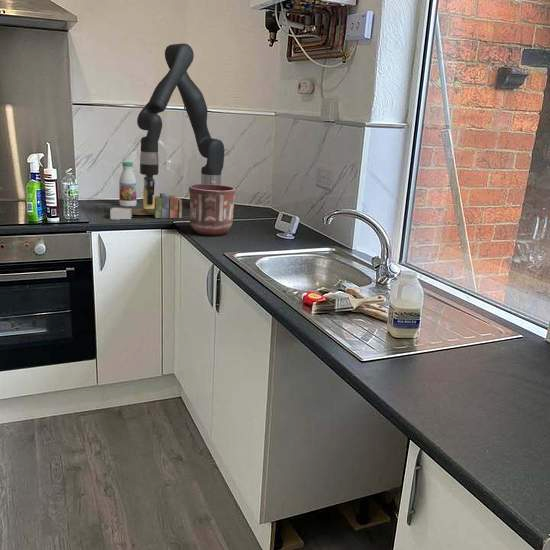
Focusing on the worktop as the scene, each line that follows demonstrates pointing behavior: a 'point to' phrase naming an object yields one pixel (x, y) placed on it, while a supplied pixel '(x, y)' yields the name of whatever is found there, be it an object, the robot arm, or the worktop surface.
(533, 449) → the worktop surface
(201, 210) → the pottery
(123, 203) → the milk bottle
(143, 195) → the butter yellow brick
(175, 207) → the row of books
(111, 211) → the off-white matte block
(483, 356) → the worktop surface
